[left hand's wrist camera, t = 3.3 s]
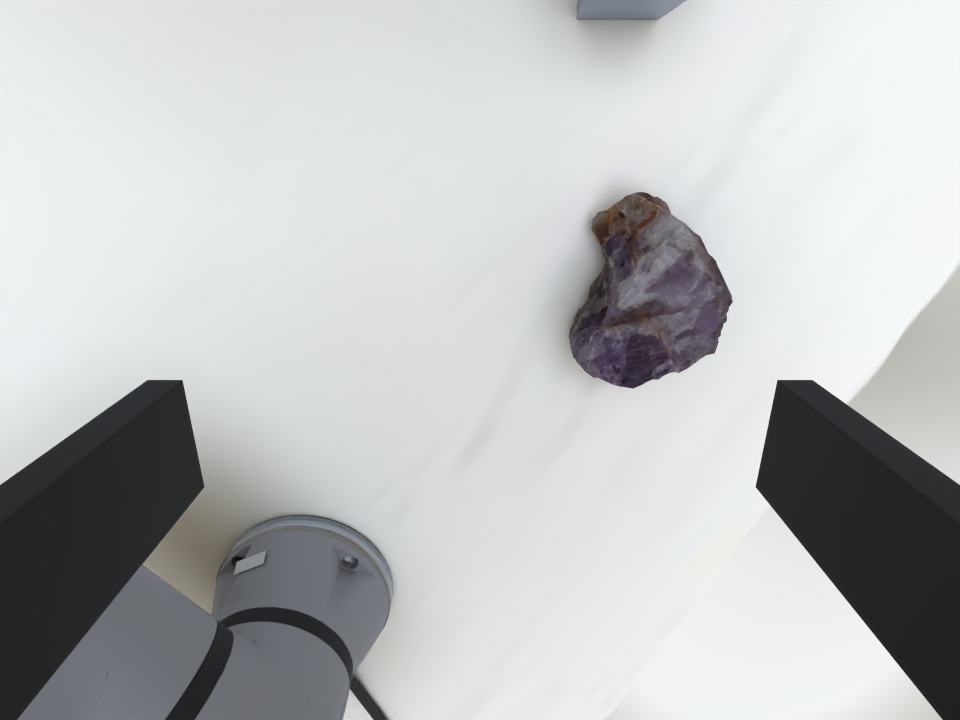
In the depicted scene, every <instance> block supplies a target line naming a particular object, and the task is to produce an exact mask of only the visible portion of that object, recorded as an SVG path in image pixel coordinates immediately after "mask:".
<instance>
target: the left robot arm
mask: <svg viewBox="0 0 960 720" xmlns="http://www.w3.org/2000/svg"><path fill="white" fill-rule="evenodd" d="M203 488H204V483H203V478H202V474H201V469H200V464H199V459H198V454H197V449H196V444H195V439H194V434H193V430H192V425H191V420H190V415H189V410H188V405H187V400H186V395H185V391H184V386H183V381H182V380H147V381H146V382H144V383H143V384H142V385H140V386H139V387H137V388H136V389H135V390H133V391H132V392H130V393H129V394H128V395H126V396H125V397H123V398H122V399H121V400H119V401H118V402H116V403H115V404H114V405H112V406H111V407H109V408H108V409H107V410H105V411H104V412H102V413H101V414H100V415H98V416H97V417H95V418H94V419H92V420H91V421H90V422H88V423H87V424H85V425H84V426H83V427H81V428H80V429H78V430H77V431H76V432H74V433H73V434H71V435H70V436H69V437H67V438H66V439H64V440H63V441H62V442H60V443H59V444H57V445H56V446H55V447H53V448H52V449H50V450H49V451H48V452H46V453H45V454H43V455H42V456H41V457H39V458H38V459H36V460H35V461H33V462H32V463H31V464H29V465H28V466H26V467H25V468H24V469H22V470H21V471H19V472H18V473H17V474H15V475H14V476H12V477H11V478H10V479H8V480H7V481H5V482H4V483H3V484H1V485H0V720H343V716H344V712H345V708H346V703H347V699H348V695H349V689H351V691H352V692H353V693H354V695H355V696H356V697H357V699H358V700H359V701H360V703H361V704H362V705H363V706H364V708H365V709H366V710H367V712H368V713H369V714H370V715H371V717H372V718H373V720H386V718H385V717H384V715H383V714H382V713H381V711H380V710H379V708H378V707H377V706H376V705H375V703H374V702H373V701H372V699H371V698H370V697H369V695H368V694H367V693H366V691H365V690H364V689H363V687H362V686H361V684H360V683H359V682H358V680H357V679H356V678H355V677H354V676H353V674H354V673H355V671H356V670H357V668H358V667H359V665H360V664H361V662H362V661H363V659H364V657H365V656H366V654H367V653H368V651H369V650H370V648H371V647H372V645H373V644H374V642H375V641H376V639H377V637H378V636H379V634H380V633H381V631H382V630H383V628H384V626H385V624H386V621H387V619H388V615H389V610H390V605H391V600H392V593H393V585H392V578H391V574H390V571H389V568H388V566H387V564H386V562H385V560H384V558H383V557H382V555H381V554H380V553H379V551H378V550H377V549H376V548H375V547H374V546H373V545H372V544H371V543H370V542H369V541H368V540H367V539H366V538H365V537H363V536H362V535H360V534H359V533H358V532H356V531H354V530H353V529H351V528H349V527H347V526H345V525H343V524H340V523H337V522H335V521H332V520H328V519H324V518H319V517H313V516H286V517H280V518H275V519H272V520H269V521H266V522H263V523H261V524H259V525H257V526H255V527H253V528H252V529H250V530H249V531H247V532H246V533H245V534H244V535H242V536H241V537H240V538H239V539H238V541H237V542H236V543H235V544H234V546H233V547H232V549H231V550H230V552H229V554H228V555H227V557H226V558H225V560H224V562H223V564H222V566H221V567H220V570H219V573H218V576H217V582H216V589H215V596H214V602H213V609H212V616H211V615H210V614H209V613H207V612H206V611H205V610H203V609H202V608H200V607H199V606H198V605H196V604H195V603H194V602H192V601H191V600H189V599H188V598H187V597H185V596H184V595H183V594H181V593H180V592H179V591H177V590H176V589H174V588H173V587H172V586H170V585H169V584H168V583H166V582H165V581H163V580H162V579H161V578H159V577H158V576H157V575H155V574H154V573H153V572H151V571H150V570H149V569H147V568H146V567H145V566H143V565H142V564H143V563H144V561H145V560H146V559H147V558H148V556H149V555H150V554H151V553H152V551H153V550H154V549H155V548H156V546H157V545H158V544H159V543H160V541H161V540H162V539H163V538H164V536H165V535H166V534H167V533H168V531H169V530H170V529H171V528H172V526H173V525H174V524H175V523H176V521H177V520H178V519H179V518H180V516H181V515H182V514H183V513H184V512H185V510H186V509H187V508H188V507H189V505H190V504H191V503H192V502H193V500H194V499H195V498H196V497H197V495H198V494H199V493H200V492H201V490H202V489H203ZM756 488H757V489H758V490H759V492H760V493H761V494H762V495H763V497H764V498H765V499H766V500H767V502H768V503H769V504H770V505H771V507H772V508H773V509H774V510H775V511H776V513H777V514H778V515H779V516H780V518H781V519H782V520H783V521H784V523H785V524H786V525H787V526H788V528H789V529H790V530H791V531H792V533H793V534H794V535H795V536H796V538H797V539H798V540H799V541H800V543H801V544H802V545H803V546H804V547H805V549H806V550H807V551H808V553H809V554H810V555H811V556H812V558H813V559H814V560H815V561H816V563H817V564H818V565H819V566H820V568H821V569H822V570H823V571H824V572H825V574H826V575H827V576H828V577H829V579H830V580H831V581H832V582H833V584H834V585H835V586H836V587H837V589H838V590H839V591H840V592H841V594H842V595H843V596H844V597H845V599H846V600H847V601H848V602H849V604H850V605H851V606H852V607H853V609H854V610H855V611H856V612H857V614H858V615H859V616H860V617H861V619H862V620H863V621H864V622H865V624H866V625H867V626H868V627H869V628H870V630H871V631H872V632H873V633H874V635H875V636H876V637H877V638H878V640H879V641H880V642H881V643H882V645H883V646H884V647H885V648H886V650H887V651H888V652H889V653H890V655H891V656H892V657H893V658H894V660H895V661H896V662H897V663H898V664H899V666H900V667H901V668H902V670H903V671H904V672H905V673H906V675H907V676H908V677H909V678H910V679H911V681H912V682H913V683H914V685H915V686H916V687H917V688H918V690H919V691H920V692H921V693H922V694H923V696H924V697H925V698H926V699H927V701H928V702H929V703H930V704H931V706H932V707H933V708H934V709H935V711H936V712H937V713H938V714H939V716H940V717H941V718H942V719H943V720H960V485H959V484H957V483H956V482H955V481H953V480H952V479H950V478H949V477H948V476H946V475H945V474H943V473H942V472H941V471H939V470H938V469H936V468H935V467H934V466H932V465H931V464H929V463H928V462H926V461H925V460H924V459H922V458H921V457H919V456H918V455H917V454H915V453H914V452H912V451H911V450H910V449H908V448H907V447H905V446H904V445H903V444H901V443H900V442H898V441H897V440H896V439H894V438H893V437H891V436H890V435H889V434H887V433H886V432H884V431H883V430H882V429H880V428H879V427H877V426H876V425H875V424H873V423H872V422H870V421H869V420H867V419H866V418H865V417H863V416H862V415H860V414H859V413H858V412H856V411H855V410H853V409H852V408H851V407H849V406H848V405H846V404H845V403H844V402H842V401H841V400H839V399H838V398H837V397H835V396H834V395H832V394H831V393H830V392H828V391H827V390H825V389H824V388H823V387H821V386H820V385H818V384H817V383H816V382H814V381H813V380H778V381H777V386H776V391H775V395H774V400H773V405H772V410H771V415H770V420H769V425H768V430H767V434H766V439H765V444H764V449H763V454H762V459H761V464H760V469H759V474H758V478H757V483H756Z"/></svg>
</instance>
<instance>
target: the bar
mask: <svg viewBox="0 0 960 720" xmlns="http://www.w3.org/2000/svg"><path fill="white" fill-rule="evenodd" d="M684 1H686V0H578V8H577V19H578V20H658V19H660V18H661V17H663V16H664V15H666V14H667V13H668V12H670V11H671V10H673V9H674V8H676V7H677V6H679V5H680V4H681V3H683V2H684Z"/></svg>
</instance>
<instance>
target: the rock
mask: <svg viewBox="0 0 960 720" xmlns="http://www.w3.org/2000/svg"><path fill="white" fill-rule="evenodd" d="M592 230H593V231H594V232H595V234H596V236H597V238H598V240H599V242H600V244H601V246H602V253H603V254H604V256H605V258H606V264H605V267H604V270H603V271H602V273H601V274H600V275H599V276H598V278H597V279H596V280H595V281H594V282H593V284H592V285H591V287H590V292H589V296H588V300H587V302H586V303H585V304H584V306H583V307H582V308H580V309H579V310H578V313H577V315H576V317H575V319H574V324H573V325H572V327H571V329H570V334H569V339H570V344H571V350H572V353H573V358H575V359H576V361H577V362H578V363H579V365H580V366H581V367H582V368H583V369H584V370H585V372H587V373H588V374H589V375H591V376H592V377H593V378H595V377H598V378H600V379H602V380H604V381H606V382H609V383H611V384H613V385H617V386H621V387H628V388H635V387H638V386H640V385H642V384H644V383H645V382H647V381H650V380H652V379H660V378H661V377H662V376H664V375H666V374H668V373H671V372H677V373H679V372H681V371H683V370H685V369H687V368H688V367H690V366H691V365H693V364H694V363H696V362H697V361H698V360H700V359H701V358H702V357H704V356H706V355H709V354H713V353H715V351H716V348H717V345H718V337H719V336H720V335H721V330H722V328H723V324H724V323H725V322H726V321H727V316H726V313H727V312H728V309H729V308H728V307H729V306H730V305H731V303H732V302H733V301H732V296H731V294H730V292H729V290H728V287H727V285H726V283H725V281H724V279H723V276H722V274H721V272H720V270H719V268H718V266H717V263H716V261H715V260H714V258H713V257H711V256H710V255H709V254H708V252H707V250H706V248H705V246H704V243H703V242H702V240H701V237H700V236H698V235H697V234H696V233H694V232H693V231H692V230H691V229H690V228H689V227H688V226H687V225H686V224H685V223H683V222H682V221H680V220H678V219H677V218H675V217H674V216H673V215H671V213H670V210H669V208H668V205H667V203H665V202H664V201H662V200H661V199H660V198H658V197H653V196H651V195H649V194H648V193H644V192H638V193H635V194H632V195H628V196H626V197H625V198H624V199H622V200H621V201H620V202H618V203H616V204H615V205H613V207H612V208H610V209H609V210H607V211H603V212H599V213H597V215H596V217H595V218H594V219H593V224H592Z"/></svg>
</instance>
